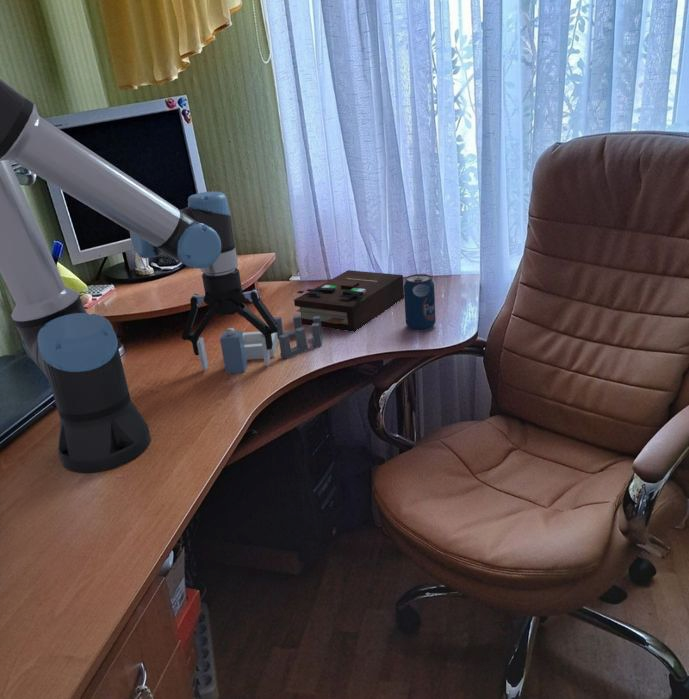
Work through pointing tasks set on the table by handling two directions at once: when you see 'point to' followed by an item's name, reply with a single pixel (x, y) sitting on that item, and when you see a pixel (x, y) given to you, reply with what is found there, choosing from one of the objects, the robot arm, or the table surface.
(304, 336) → the clip
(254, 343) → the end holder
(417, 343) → the table surface
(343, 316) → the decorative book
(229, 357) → the connector
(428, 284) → the soda can
